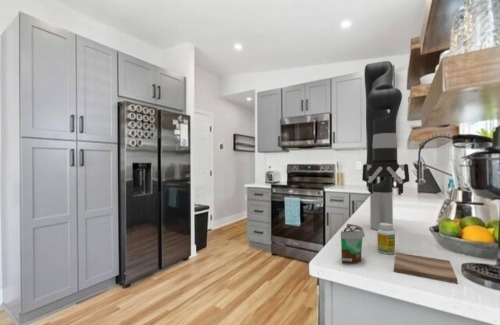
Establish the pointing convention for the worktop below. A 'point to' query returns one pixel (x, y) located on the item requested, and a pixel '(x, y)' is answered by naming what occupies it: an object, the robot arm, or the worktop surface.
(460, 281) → the worktop surface
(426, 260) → the walnut cutting board
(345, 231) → the food container
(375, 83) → the robot arm
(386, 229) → the supplement bottle
